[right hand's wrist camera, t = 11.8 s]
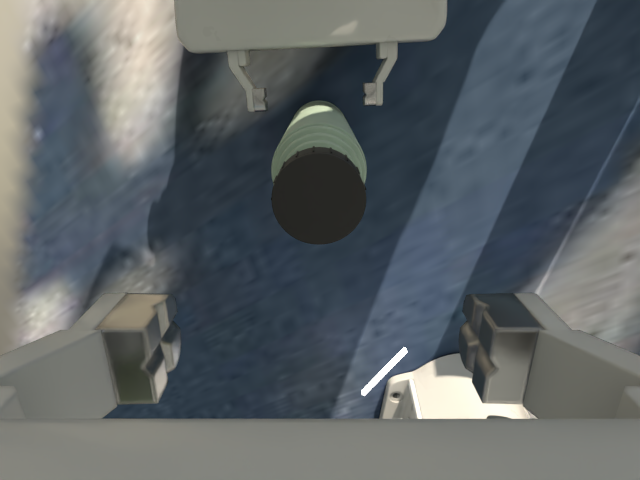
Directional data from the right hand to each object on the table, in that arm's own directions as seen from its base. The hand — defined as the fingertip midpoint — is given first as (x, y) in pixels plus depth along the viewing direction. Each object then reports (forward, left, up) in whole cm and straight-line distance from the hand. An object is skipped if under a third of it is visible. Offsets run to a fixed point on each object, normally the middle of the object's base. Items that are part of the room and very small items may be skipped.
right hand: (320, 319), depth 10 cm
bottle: (0, 0, -34) cm, 34 cm away
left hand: (+2, +1, -28) cm, 29 cm away
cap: (0, 0, -10) cm, 10 cm away
